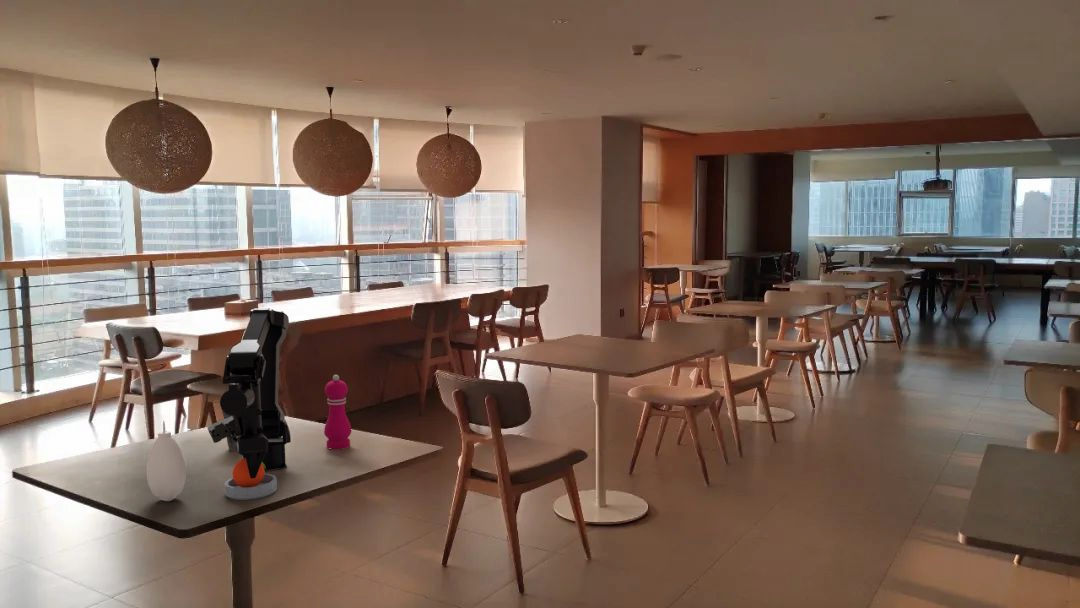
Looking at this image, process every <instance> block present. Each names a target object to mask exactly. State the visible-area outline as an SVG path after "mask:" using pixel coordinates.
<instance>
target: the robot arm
mask: <svg viewBox="0 0 1080 608" xmlns="http://www.w3.org/2000/svg"><path fill="white" fill-rule="evenodd" d="M289 319H290V318H289V316H288V314H286V313H285V312H284V311H282V310H280V311H278V310H274V309H273V308H272V309H271V308H269V307H267V308H265V307H264V308H261V307H260V308H259V307H257V308H253V309H251V310H250V312H249V320H248V324H247V326H246V329H245V331H244V334H243V336H242V339H241V341H240V342H239V343H238V344H235V345H234V346H232V348H231V350H230V352H229V353H228V355H227V356H226V359H225V363H224V370H223V375H222V376H223V377H222V385H228V389H227V390H226V391H224V393H223V394H222V395H221V396H220V399H219V405H220V408H222V409H221V411H222V410H223V411H224V412H225V413H226V414H228V415H232V416H231V417H228V418H225V419H224V418H223V419H221V420H219V421H216V422H214V423H212V424H210V425H208V426H207V431H208V433H209V435H210V437H211V439H212V441H213V443H214V444H216V443H220V442H221V441H222V440H223V439H225V438H226V439H227V437H228V436H230V435H231V436H232V439H233V440H234V441H235V442H236V443H237V449H238V451H237V452H238V454H239V455H241V456H242V459H243V458H245V459H246V463H247V467H248V471H249V475H250V478H251V479H252V478H256V476H257V473H258V470H259V468H260V465H261V463H262V462H263V463H264V465H265V467H266V468H265V467H264V465H263V467H264V471H273V470H280V469H287V468H288V465H287V463H286V445H287V444H289V443H291V442H292V440H291V439H292V438H291V437H292V436H291V431H290V428H289V425H288V422H287V420H286V419H285V413H284V411H283V409H282V408H281V406H280V405H279V389H280V388H279V383H280V380H279V379H280V346H281V345H282V343H283V342H284V340H285V339H286V337H287V330H288V329H289V326H290V320H289Z"/></svg>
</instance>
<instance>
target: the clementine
mask: <svg viewBox="0 0 1080 608" xmlns="http://www.w3.org/2000/svg"><path fill="white" fill-rule="evenodd" d="M263 465H264V463H263V462H262V463H261V465H260V468H259V470H258V473H257V476H256V478H252V479H251V478H250V475H249V471H248V467H247V463H246V459H245V458H243V457H242V458H241V459H240V460H238V461H237V462H236V464H235V465H234V466H233V469H232V478H233V479H234V481H235V483H236V484H237V485H238V486H240V487H244V488H248V487H255V486H257V485H258V484H259V483H260V482H261V481H262V479H263V477H264V473H266V472H265V471H264V467H265V465H264V467H263ZM265 468H266V467H265Z"/></svg>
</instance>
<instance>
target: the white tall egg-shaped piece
mask: <svg viewBox="0 0 1080 608" xmlns="http://www.w3.org/2000/svg"><path fill="white" fill-rule="evenodd" d="M146 462H147V463H146V480H147V484H148V487H149V489H150V491H151V493H152V494H153V496H154V497H156V498H158V499H159V500H160V501H164V502H170V501H173V500H174V499H176V498H177V497H178V495H179V494H181V493H182V491H183V489H184V487H185V484H186V480H187V479H186V478H187V464H186V460H185V456H184V454H183V450H182V449H181V446H180V444H179V443H178V442H177V441H176V439H175V438H174V437H173V436H172V432H170V431H166V424H165V420H163V421H162V431H159V432H158V433H157V437H156V439H155V441H154V442H153V444H152V446H151V448H150V450H149V453H148V456H147V461H146Z"/></svg>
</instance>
